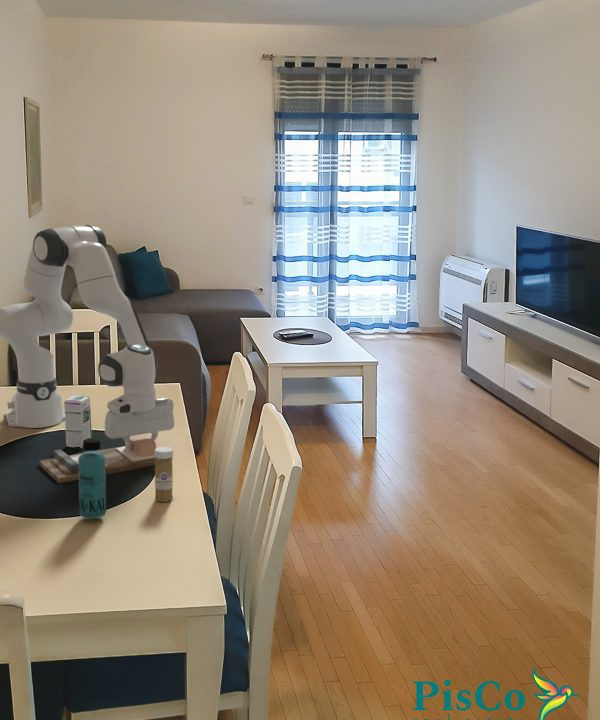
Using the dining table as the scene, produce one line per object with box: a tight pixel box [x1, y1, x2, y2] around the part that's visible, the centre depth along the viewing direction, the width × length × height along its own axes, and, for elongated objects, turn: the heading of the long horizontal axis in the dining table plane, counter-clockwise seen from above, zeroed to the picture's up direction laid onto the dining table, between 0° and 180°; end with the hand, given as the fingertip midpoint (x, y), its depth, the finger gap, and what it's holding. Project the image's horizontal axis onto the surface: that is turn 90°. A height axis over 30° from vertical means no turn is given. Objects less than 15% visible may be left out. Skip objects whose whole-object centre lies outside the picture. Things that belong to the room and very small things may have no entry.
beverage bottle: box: [77, 437, 108, 519], centre depth 214 cm, size 6×7×20 cm
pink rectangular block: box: [115, 434, 157, 462], centre depth 259 cm, size 12×8×4 cm, turn 34°
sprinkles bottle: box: [154, 446, 174, 503], centre depth 228 cm, size 5×5×14 cm
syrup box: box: [63, 395, 93, 449], centre depth 269 cm, size 6×6×14 cm
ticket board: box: [38, 445, 155, 484], centre depth 252 cm, size 16×28×4 cm, turn 124°
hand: (140, 448), depth 259 cm, fingers closed on pink rectangular block, 5 cm apart
